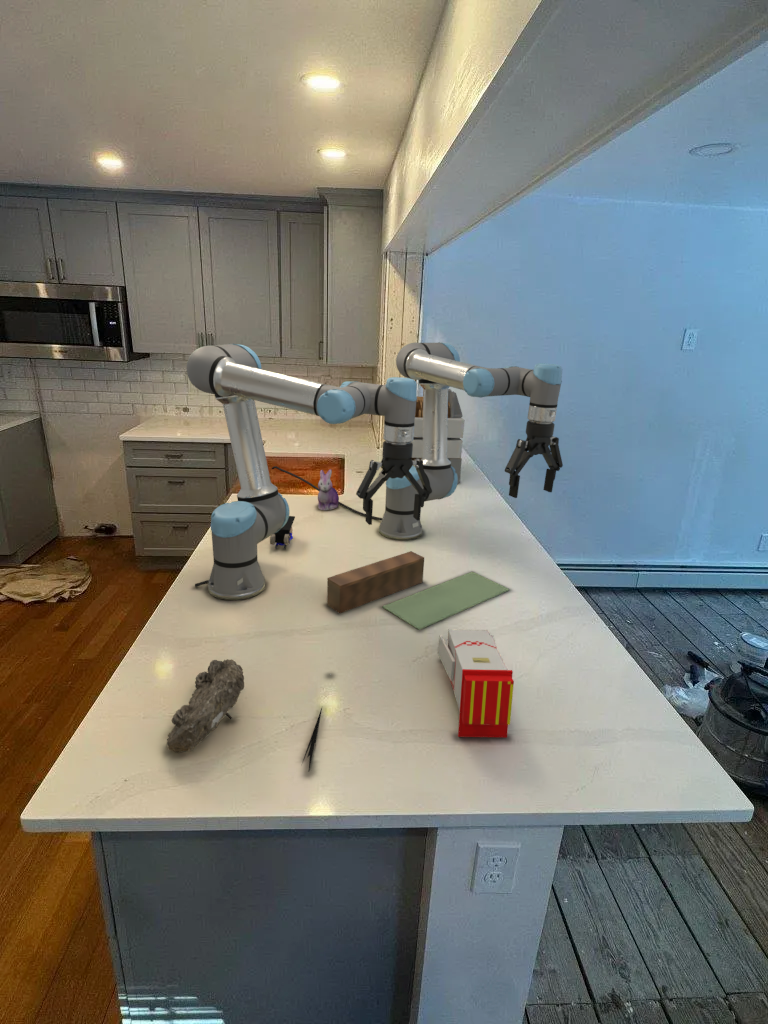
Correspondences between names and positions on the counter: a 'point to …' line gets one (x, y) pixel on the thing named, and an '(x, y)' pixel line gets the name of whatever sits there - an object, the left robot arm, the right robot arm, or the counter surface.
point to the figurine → (327, 492)
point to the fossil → (206, 705)
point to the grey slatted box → (453, 432)
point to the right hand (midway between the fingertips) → (530, 493)
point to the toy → (478, 682)
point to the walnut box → (374, 581)
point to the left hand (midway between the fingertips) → (392, 520)
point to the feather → (313, 740)
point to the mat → (444, 600)
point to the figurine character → (283, 534)
